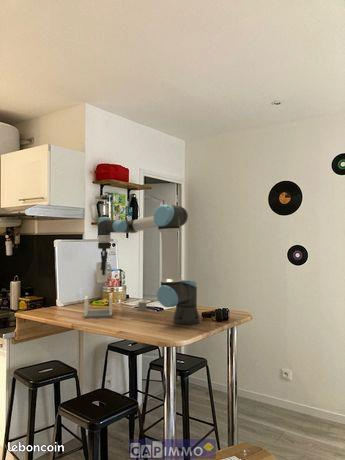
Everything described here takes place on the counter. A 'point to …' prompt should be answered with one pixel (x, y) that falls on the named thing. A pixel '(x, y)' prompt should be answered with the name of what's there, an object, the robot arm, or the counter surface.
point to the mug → (98, 266)
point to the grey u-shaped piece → (97, 313)
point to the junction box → (142, 305)
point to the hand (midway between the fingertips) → (103, 279)
